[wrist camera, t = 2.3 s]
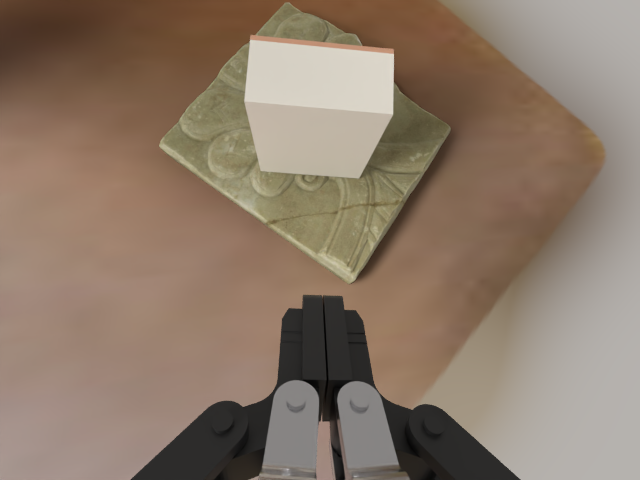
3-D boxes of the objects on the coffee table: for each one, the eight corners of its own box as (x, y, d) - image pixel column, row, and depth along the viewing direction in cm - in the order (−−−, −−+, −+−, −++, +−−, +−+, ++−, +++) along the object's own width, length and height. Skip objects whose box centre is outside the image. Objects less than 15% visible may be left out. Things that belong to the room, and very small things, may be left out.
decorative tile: (348, 288, 31) (355, 286, 27) (165, 157, 32) (149, 138, 28) (455, 131, 34) (473, 111, 31) (288, 16, 35) (288, -15, 32)
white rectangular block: (260, 171, 28) (244, 101, 19) (264, 125, 29) (250, 34, 19) (359, 178, 29) (392, 114, 19) (360, 133, 30) (394, 49, 20)
